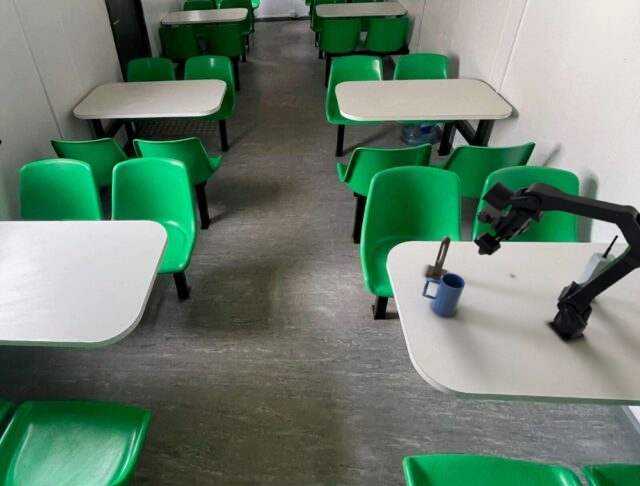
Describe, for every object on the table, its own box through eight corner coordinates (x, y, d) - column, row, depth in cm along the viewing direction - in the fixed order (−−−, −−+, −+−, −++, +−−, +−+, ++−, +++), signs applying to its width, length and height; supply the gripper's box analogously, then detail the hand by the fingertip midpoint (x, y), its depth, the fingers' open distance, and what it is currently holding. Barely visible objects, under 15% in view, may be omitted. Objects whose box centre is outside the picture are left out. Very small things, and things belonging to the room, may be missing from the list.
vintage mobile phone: (593, 301, 131) (633, 240, 116) (575, 299, 132) (612, 238, 117) (588, 293, 134) (626, 232, 119) (571, 291, 135) (606, 230, 120)
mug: (455, 305, 132) (466, 277, 125) (452, 320, 127) (463, 291, 120) (422, 294, 136) (430, 266, 129) (418, 308, 132) (426, 280, 124)
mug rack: (446, 272, 144) (458, 234, 134) (439, 299, 134) (452, 260, 124) (428, 266, 146) (439, 229, 136) (420, 293, 136) (431, 254, 126)
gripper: (512, 186, 127) (487, 216, 139) (471, 213, 120) (449, 241, 133) (544, 212, 121) (515, 241, 134) (504, 241, 115) (477, 268, 127)
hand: (489, 247), depth 132 cm, fingers open, 9 cm apart
